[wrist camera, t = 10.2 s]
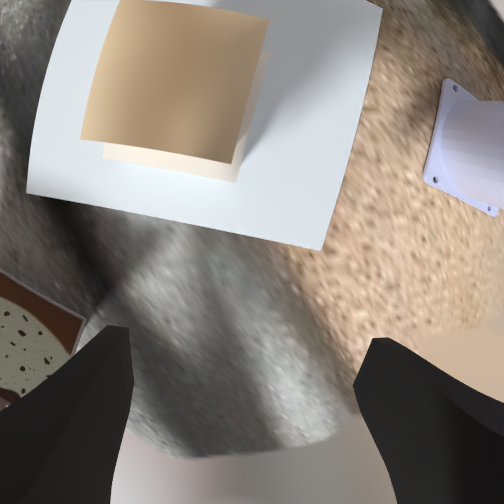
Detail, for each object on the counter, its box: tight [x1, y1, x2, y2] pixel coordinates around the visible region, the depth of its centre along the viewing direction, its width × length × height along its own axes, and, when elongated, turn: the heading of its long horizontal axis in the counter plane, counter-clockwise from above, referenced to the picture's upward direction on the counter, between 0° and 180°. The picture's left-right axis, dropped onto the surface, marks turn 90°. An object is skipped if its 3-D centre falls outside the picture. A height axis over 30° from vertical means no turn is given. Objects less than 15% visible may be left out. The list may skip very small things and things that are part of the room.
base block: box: [102, 50, 271, 183], centre depth 13 cm, size 6×6×3 cm
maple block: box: [80, 0, 270, 164], centre depth 9 cm, size 4×4×4 cm
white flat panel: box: [26, 0, 383, 251], centre depth 14 cm, size 18×16×1 cm
